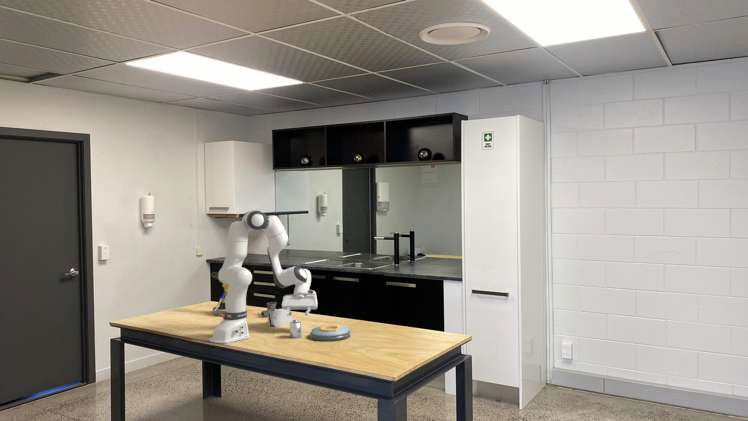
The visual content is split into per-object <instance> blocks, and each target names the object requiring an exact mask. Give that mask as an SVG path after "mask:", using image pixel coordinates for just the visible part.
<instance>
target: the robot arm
mask: <svg viewBox="0 0 748 421" xmlns="http://www.w3.org/2000/svg"><path fill="white" fill-rule="evenodd" d="M259 230H263V232H264V234H265V236H266V238H267V241H268V247H267V257H268V260H269V262H270V267H271V269H272V270H271V271H272V275H273V281H274V284H275V285H276V286H277V287H278V288H280V289H285V288H287V287H290V286H293V285H295V287H294V290H293V293H292V294H285V295H283V297H282V302H281V309H284V310H288V312H289V313H288V315H289V316H291V317H292V314H293V313H292V310H306V311H305V312H304V316H309V314H310V312H311V310H317V309H318V304H319V302H318V299H317V298H318V296H317V292H316V291H315V290H312V289H310V287H311V285H312V284H311V283H312V273H311V272H310V270H308V268H303V267H301V266H300V265H294V266H291V267H287V268H286V269H283V268H282V266H281V262H280V258H279V254H280V252H281V251H283V249H284V248H285V247H286V246H287V245H288V241H289V236H288V234H287V230H286V228H285V226H284V225H283V224H282V222H281V220H280V219H279V217H278V216H277V215H267V214H265V213H264V212H262V211H260V210H257V209H256V210H255V209H253V210H252V209H251V210H248V211H246V212H245V213H244V214H243V216H242V217H241V219H240V220H237V221H233V222H231V224H230V226H229V228H228V233H227V241H226V251H225V252H226V253H225V257H224V261H223V264H222V266H221V268H220V269H219V279H220V280H221V281H222V282H223V283H224V284H227V285H229V291H228V294H227V296H226V298H225V308H226V311H225V313H224V314H222V313H221V314H220V315H219V316H218V317H219V318H222V320H221V321H220V322H219V324H218V325H217V326H216V327H215V328H214V330H213V336H212V337H210V338H208V341H209V342H211V343H215V344H229V343H233V342H238V341H242V340H246V339H250V331H249V327H248V321H247V320H248V319H247V317H248V311H247V292H248V289H249V286H250V284H251V283H252V281H253V274H252V273H251V271H250V270H249V269H247V268H245V267H242V266H243V263H244V260H245V258H246V257H247V255H248V242H249V234H250V232H251V231H259Z"/></svg>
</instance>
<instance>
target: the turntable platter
mask: <svg viewBox="0 0 748 421" xmlns="http://www.w3.org/2000/svg"><path fill="white" fill-rule="evenodd" d="M348 330H349V328H348V327H346V326H341V325H324V326H317V327H314V328H312V329H311V332H312V335H314V336H318V337H338V336H343V335H346V334H347V333H348Z"/></svg>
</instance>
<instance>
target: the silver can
mask: <svg viewBox="0 0 748 421" xmlns="http://www.w3.org/2000/svg"><path fill="white" fill-rule="evenodd" d="M289 337H290V339H300V338H302V322H301V321H299V319H293V320H292V322H290V323H289Z"/></svg>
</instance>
